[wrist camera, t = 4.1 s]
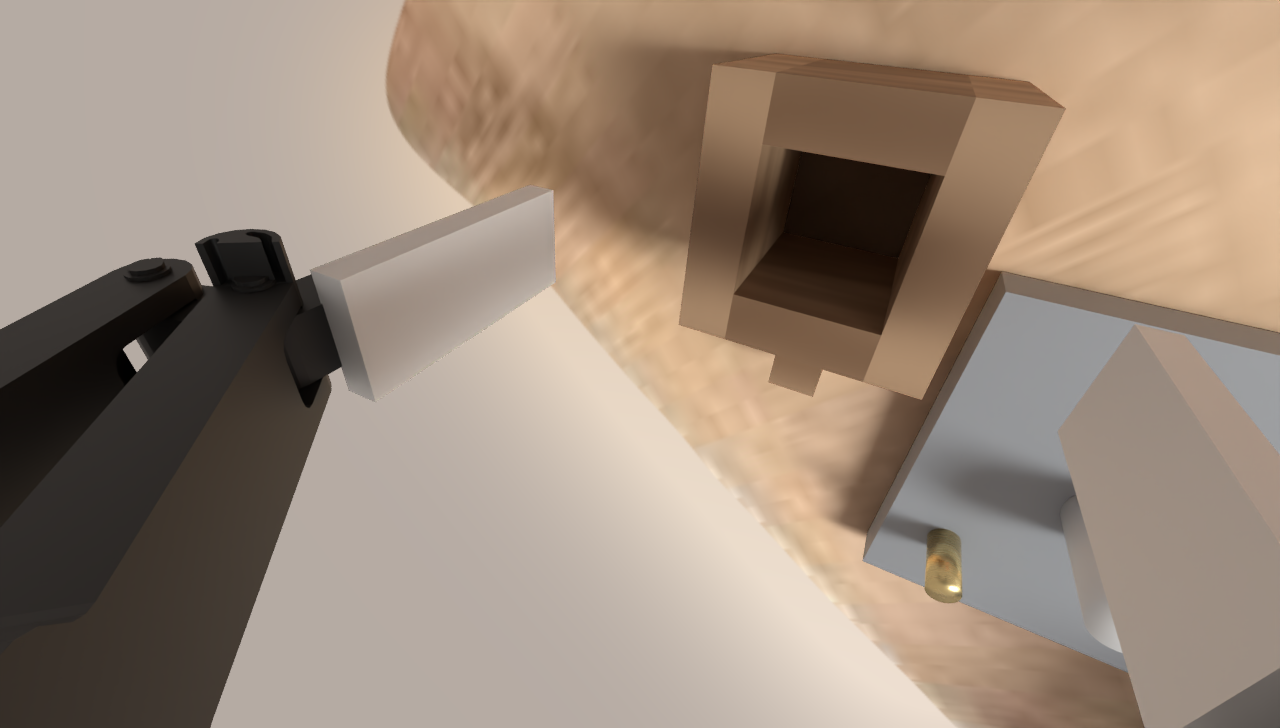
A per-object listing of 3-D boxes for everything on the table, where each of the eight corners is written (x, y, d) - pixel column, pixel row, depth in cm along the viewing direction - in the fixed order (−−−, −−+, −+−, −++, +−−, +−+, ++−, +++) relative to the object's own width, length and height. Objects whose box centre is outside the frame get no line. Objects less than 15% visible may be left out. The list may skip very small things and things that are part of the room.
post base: (1001, 271, 20) (1020, 360, 14) (1541, 391, 15) (1855, 585, 10) (867, 533, 29) (848, 645, 24) (1175, 657, 24) (1237, 830, 19)
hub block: (775, 53, 20) (712, 64, 14) (1029, 82, 17) (1065, 108, 12) (723, 332, 27) (668, 407, 21) (894, 384, 24) (879, 485, 19)
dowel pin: (933, 523, 24) (932, 575, 22) (966, 536, 24) (968, 589, 22) (922, 542, 25) (919, 593, 23) (953, 554, 25) (953, 607, 22)
